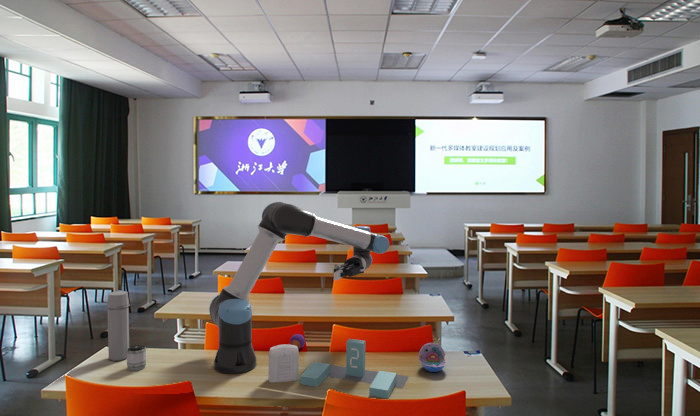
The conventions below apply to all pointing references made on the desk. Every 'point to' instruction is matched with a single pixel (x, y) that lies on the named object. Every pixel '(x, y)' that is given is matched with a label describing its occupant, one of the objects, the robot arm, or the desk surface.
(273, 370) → the photo printer
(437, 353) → the cell model
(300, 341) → the kendama
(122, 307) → the water bottle
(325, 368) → the tile
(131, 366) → the camera lens
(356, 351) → the tile
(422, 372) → the desk surface
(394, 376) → the tile
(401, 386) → the mat
